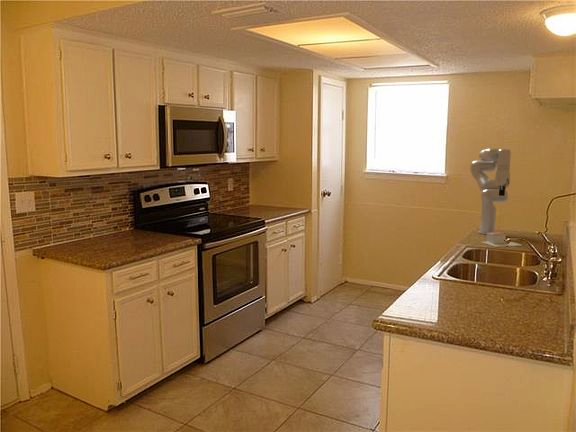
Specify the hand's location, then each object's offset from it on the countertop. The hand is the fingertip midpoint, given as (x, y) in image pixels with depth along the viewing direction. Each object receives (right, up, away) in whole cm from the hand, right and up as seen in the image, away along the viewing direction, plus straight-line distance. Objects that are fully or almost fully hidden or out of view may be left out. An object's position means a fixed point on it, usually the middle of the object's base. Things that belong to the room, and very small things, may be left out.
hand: (501, 195), depth 330 cm
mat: (-6, -32, -15) cm, 36 cm away
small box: (-9, -27, -6) cm, 29 cm away
